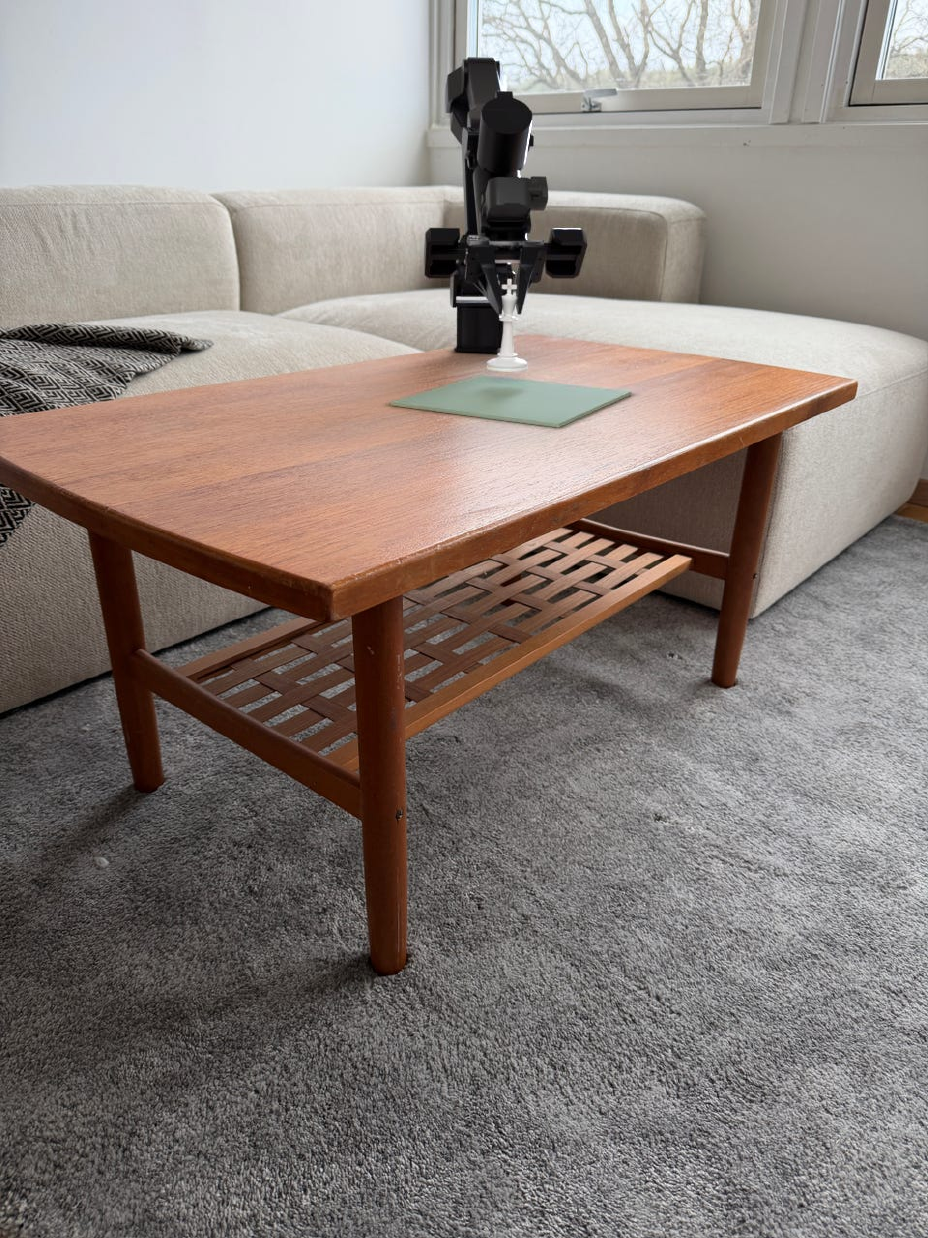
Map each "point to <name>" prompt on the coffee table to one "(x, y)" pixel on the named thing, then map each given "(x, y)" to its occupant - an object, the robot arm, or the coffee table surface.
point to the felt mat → (514, 400)
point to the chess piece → (507, 337)
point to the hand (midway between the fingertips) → (510, 311)
